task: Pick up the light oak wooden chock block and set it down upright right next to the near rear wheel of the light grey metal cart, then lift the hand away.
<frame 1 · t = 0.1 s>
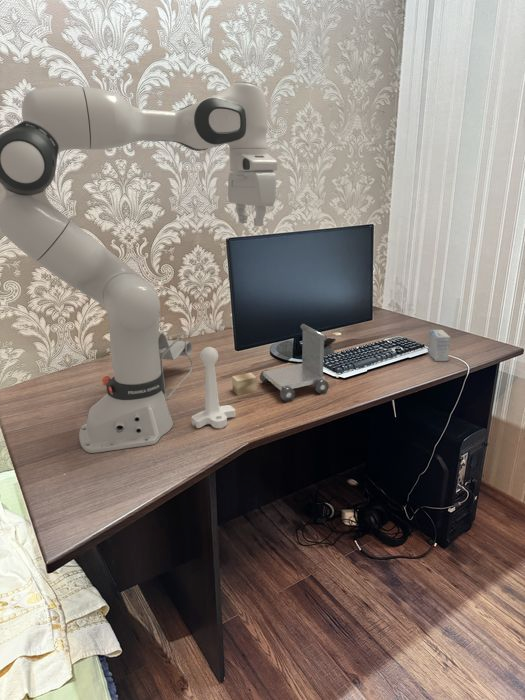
hand: (250, 224, 112), 48 cm above the table, tool pointing down, fingers open, 8 cm apart
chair: (160, 383, 142), on the table
chock: (244, 390, 136), on the table
joystick: (216, 423, 119), on the table
cart: (293, 387, 137), on the table
microphone: (321, 349, 168), on the table
medicine box: (437, 357, 158), on the table
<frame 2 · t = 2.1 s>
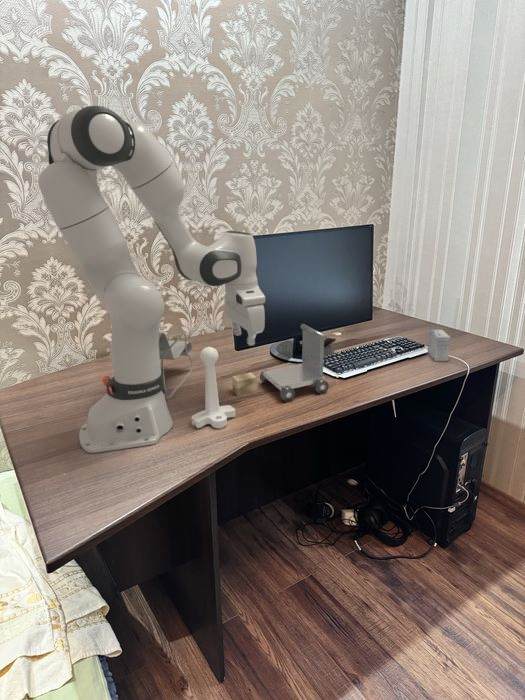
hand: (244, 339, 131), 16 cm above the table, tool pointing down, fingers open, 8 cm apart
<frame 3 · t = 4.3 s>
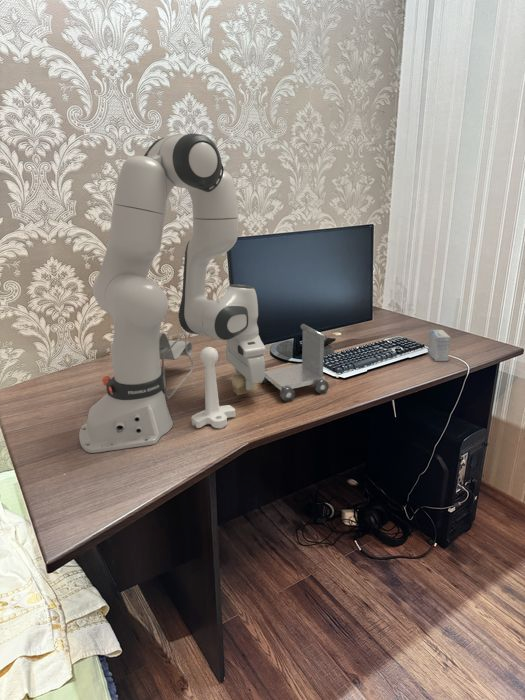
hand: (244, 385, 135), 2 cm above the table, tool pointing down, fingers closed on chock, 4 cm apart
chock: (244, 390, 136), on the table, touching gripper
everything else where it was.
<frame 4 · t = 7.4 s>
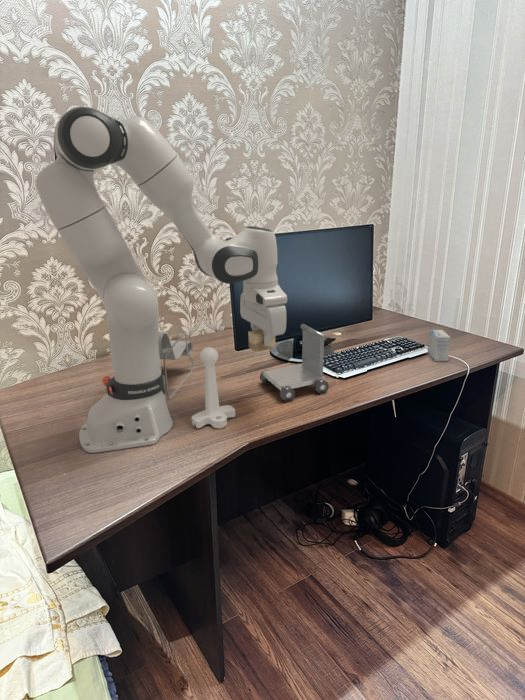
hand: (261, 342, 124), 17 cm above the table, tool pointing down, fingers closed on chock, 4 cm apart
chock: (262, 347, 124), point 16 cm above the table, touching gripper
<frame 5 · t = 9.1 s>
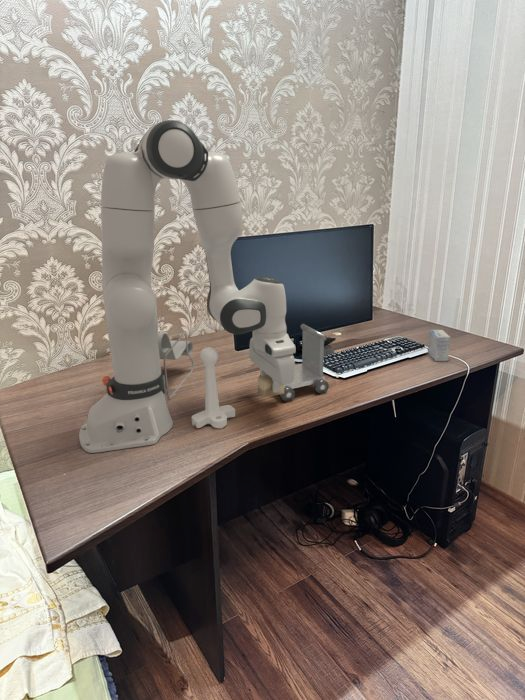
hand: (270, 387, 125), 5 cm above the table, tool pointing down, fingers closed on chock, 4 cm apart
chock: (271, 392, 126), point 4 cm above the table, touching gripper
when the fingers open (3 cm above the table, at t = 10.3 s): chock drops 1 cm, on the table.
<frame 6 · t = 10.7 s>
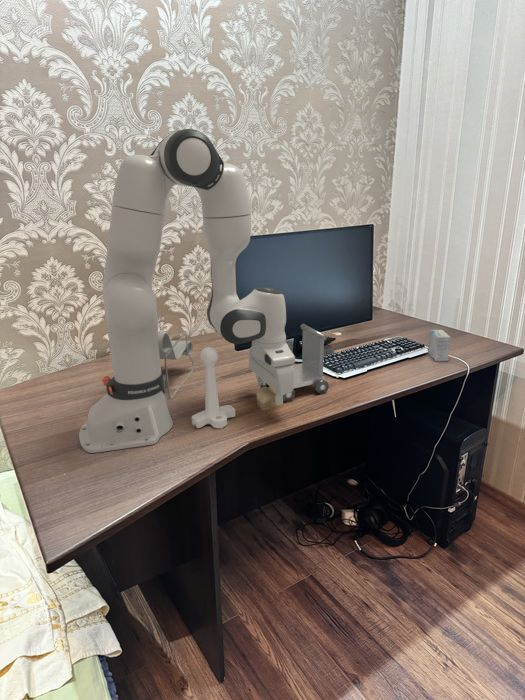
hand: (269, 396, 126), 3 cm above the table, tool pointing down, fingers open, 8 cm apart
chock: (270, 405, 127), on the table
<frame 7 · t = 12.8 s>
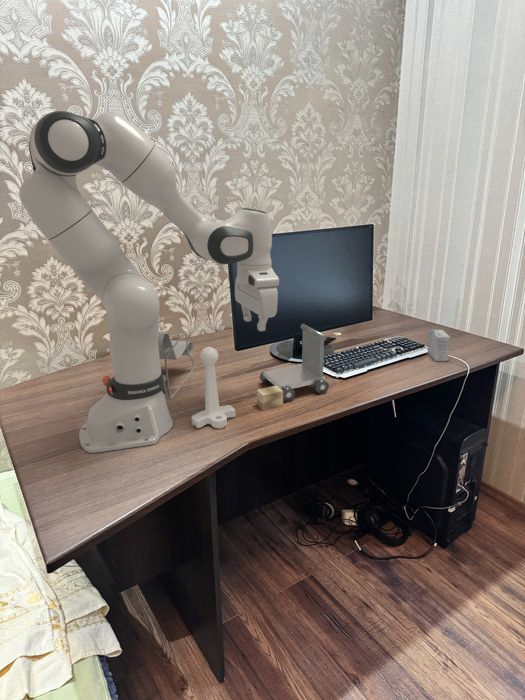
hand: (254, 325, 124), 21 cm above the table, tool pointing down, fingers open, 8 cm apart
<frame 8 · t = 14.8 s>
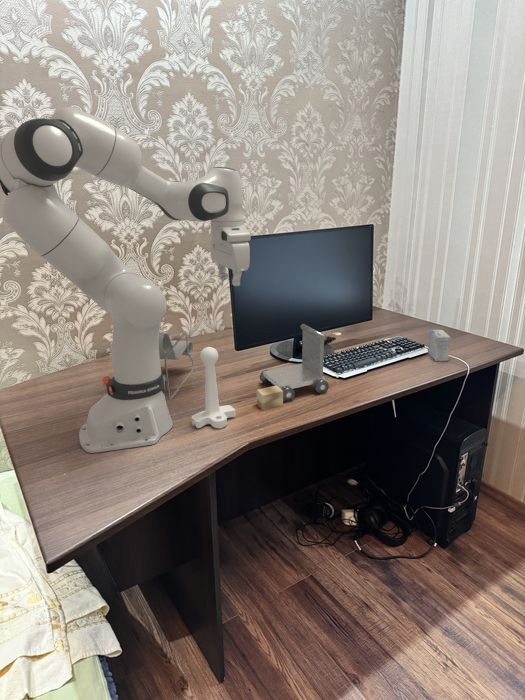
hand: (229, 282, 130), 31 cm above the table, tool pointing down, fingers open, 8 cm apart
at the end: chock 0.5 cm from the target spot, on the table; chock tilted 0°; the gripper is holding nothing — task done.
